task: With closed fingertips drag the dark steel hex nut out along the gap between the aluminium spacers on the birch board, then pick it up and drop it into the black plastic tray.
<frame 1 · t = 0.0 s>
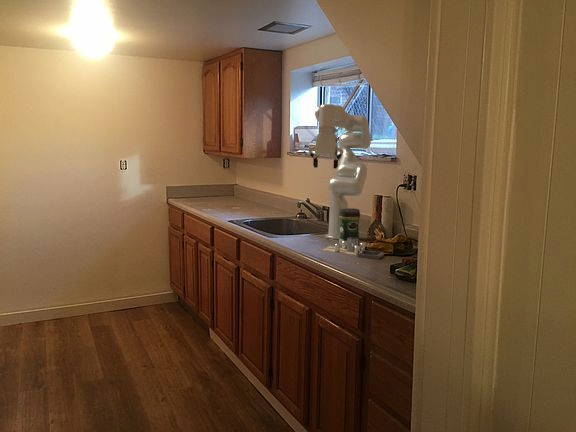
hand: (325, 168, 248), 37 cm above the worktop, tool pointing down, fingers open, 9 cm apart
coffee jar: (348, 247, 248), on the worktop
tray: (370, 257, 226), on the worktop
board: (343, 251, 237), on the worktop
spacers: (350, 247, 236), on the board, point 2 cm above the worktop
nut: (352, 251, 235), point 1 cm above the worktop, touching board
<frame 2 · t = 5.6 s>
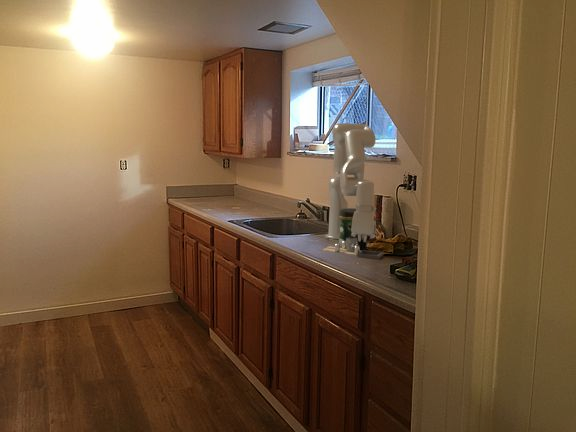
hand: (362, 250, 233), 2 cm above the worktop, tool pointing down, fingers closed
nut: (352, 250, 235), point 1 cm above the worktop, touching board, gripper
everything else where it was.
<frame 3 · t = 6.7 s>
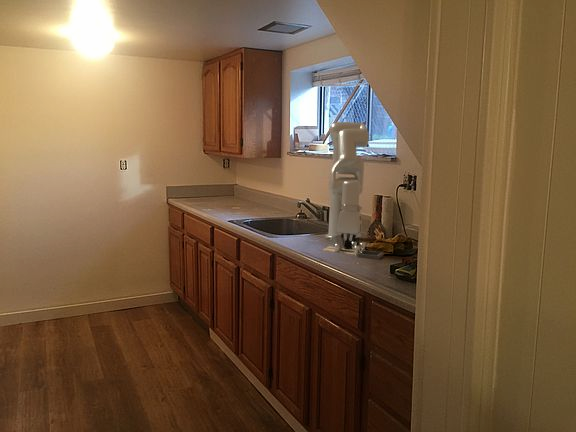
hand: (348, 249, 236), 1 cm above the worktop, tool pointing down, fingers closed
nut: (340, 248, 237), point 1 cm above the worktop, tilted 20°, touching board, gripper
everything else where it was.
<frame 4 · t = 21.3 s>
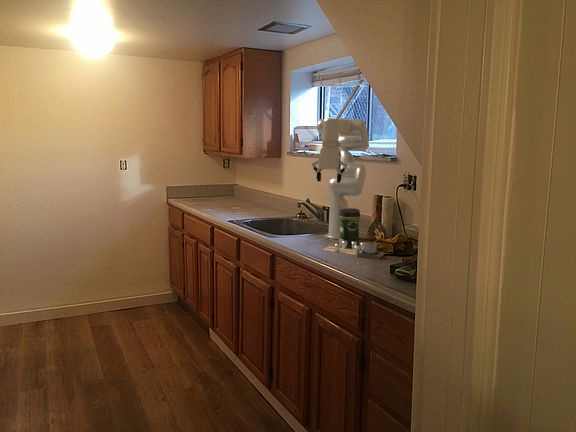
hand: (328, 181, 248), 30 cm above the worktop, tool pointing down, fingers open, 9 cm apart
nut: (370, 256, 225), resting on tray
everything else where it was.
at the end: nut inside the target area on the tray (0.3 cm from its centre), point 0.4 cm above the tray's base; the gripper is holding nothing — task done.
